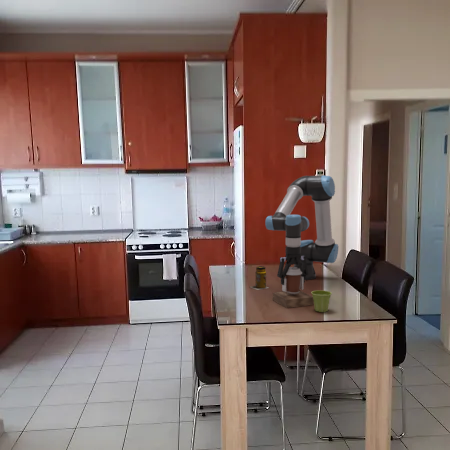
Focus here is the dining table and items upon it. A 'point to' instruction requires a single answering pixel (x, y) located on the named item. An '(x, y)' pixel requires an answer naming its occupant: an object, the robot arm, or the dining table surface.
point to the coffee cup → (293, 280)
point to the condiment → (260, 278)
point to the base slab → (293, 299)
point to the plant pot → (321, 300)
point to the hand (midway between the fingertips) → (292, 290)
